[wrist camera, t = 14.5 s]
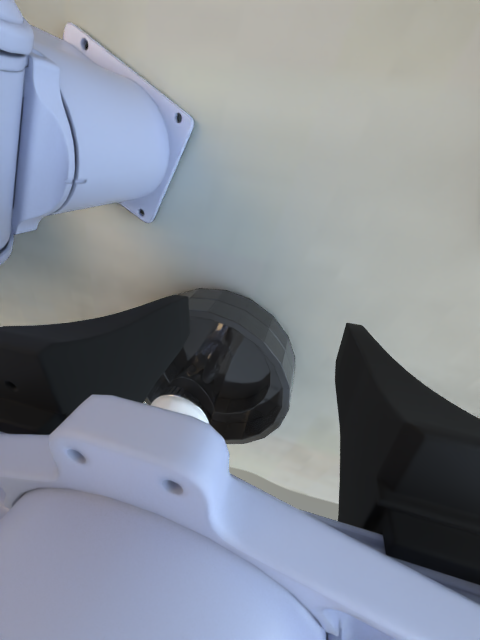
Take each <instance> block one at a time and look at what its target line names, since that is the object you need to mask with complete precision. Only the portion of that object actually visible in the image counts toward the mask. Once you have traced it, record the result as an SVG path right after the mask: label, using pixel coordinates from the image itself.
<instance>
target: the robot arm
mask: <svg viewBox="0 0 480 640" xmlns="http://www.w3.org/2000/svg"><path fill="white" fill-rule="evenodd" d="M86 42H88V49H87V50H86ZM179 114H181V116H182V121H181V122H180V123H179V122H178V120H177V116H178V115H179ZM193 127H194V121H193V118H192V117H191V116H190V115H189V114H188V113H186V112H185V111H184V110H183V109H181V108H180V107H179V106H178V105H176V104H175V103H174V102H173V101H171V100H170V99H169V98H168V97H166V96H165V95H164V94H162V93H161V92H160V91H159V90H157V89H156V88H155V87H154V86H152V85H151V84H150V83H149V82H147V81H146V80H145V79H143V78H142V77H141V76H140V75H138V74H137V73H136V72H135V71H133V70H132V69H131V68H130V67H128V66H127V65H126V64H125V63H123V62H122V61H121V60H119V59H118V58H117V57H116V56H114V55H113V54H112V53H111V52H109V51H108V50H107V49H106V48H104V47H103V46H102V45H100V44H99V43H98V42H97V41H95V40H94V39H93V38H92V37H90V36H89V35H88V34H87V33H85V32H84V31H83V30H81V29H80V28H79V27H78V26H76V25H74V24H73V23H71V22H69V23H67V24H66V25H65V28H64V33H63V40H62V39H60V38H58V37H56V36H54V35H52V34H49V33H47V32H45V31H43V30H41V29H39V28H37V27H34V26H32V25H30V24H29V23H28V22H27V21H26V20H25V18H24V17H23V16H22V14H21V12H20V10H19V8H18V7H17V5H16V3H15V1H14V0H0V265H1V264H3V263H4V262H5V261H6V260H7V259H8V258H9V256H10V254H11V252H12V250H13V241H14V236H13V235H16V234H20V233H25V232H29V231H33V230H36V229H37V226H38V223H39V221H40V220H41V219H42V218H43V217H45V216H48V215H54V214H59V213H64V212H69V211H74V210H80V209H85V208H90V207H95V206H101V205H106V204H111V203H116V202H118V203H119V204H121V205H122V206H123V207H125V208H126V209H128V210H129V211H130V212H132V213H133V214H134V215H136V216H137V217H138V218H140V219H141V220H142V221H144V222H145V223H151V222H153V220H154V219H155V216H156V214H157V212H158V209H159V207H160V205H161V202H162V200H163V198H164V195H165V193H166V191H167V188H168V186H169V184H170V181H171V179H172V177H173V174H174V172H175V170H176V167H177V165H178V163H179V160H180V158H181V156H182V153H183V151H184V149H185V146H186V144H187V142H188V139H189V137H190V135H191V132H192V130H193ZM141 209H142V210H143V212H144V215H142V214H141ZM189 334H190V319H189V300H188V296H182V295H172V296H168V297H165V298H162V299H159V300H156V301H154V302H151V303H148V304H145V305H142V306H139V307H136V308H133V309H130V310H126V311H123V312H120V313H116V314H113V315H109V316H104V317H100V318H95V319H89V320H83V321H77V322H70V323H62V324H51V325H37V326H3V327H0V640H480V419H479V418H477V417H475V416H473V415H471V414H470V413H468V412H466V411H464V410H462V409H461V408H459V407H457V406H456V405H454V404H452V403H451V402H449V401H448V400H446V399H445V398H443V397H441V396H440V395H438V394H437V393H435V392H434V391H432V390H431V389H430V388H428V387H427V386H425V385H424V384H423V383H421V382H420V381H419V380H417V379H416V378H415V377H414V376H412V375H411V374H410V373H409V372H407V371H406V370H405V369H404V368H403V367H402V366H401V365H399V364H398V363H397V362H396V361H395V360H394V359H393V358H392V357H391V356H390V355H389V354H388V353H387V352H386V351H385V350H384V349H383V348H382V347H381V346H380V345H379V343H378V342H377V341H376V340H375V339H374V338H373V337H372V336H371V335H370V333H369V332H368V331H367V330H366V329H365V328H364V327H363V326H362V325H357V324H351V323H346V327H345V330H344V334H343V338H342V341H341V345H340V348H339V352H338V355H337V359H336V369H335V385H336V395H337V404H338V413H339V422H340V489H339V516H338V521H336V520H332V519H329V518H326V517H322V516H319V515H316V514H313V513H310V512H306V511H303V510H300V509H297V508H295V507H293V506H291V505H289V504H287V503H285V502H284V501H282V500H280V499H278V498H276V497H274V496H272V495H270V494H268V493H266V492H264V491H263V490H261V489H259V488H257V487H255V486H253V485H251V484H249V483H247V482H245V481H243V480H242V479H240V478H238V477H236V476H234V475H232V474H230V473H229V452H228V449H227V446H226V443H225V440H224V438H223V437H222V436H221V435H220V434H219V433H218V432H217V431H216V430H215V429H214V428H213V427H212V426H211V425H210V424H208V423H206V422H204V421H201V420H199V419H197V418H195V417H193V416H190V415H186V414H182V413H178V412H174V411H170V410H167V409H163V408H159V407H155V406H151V405H147V404H143V402H144V401H145V399H146V397H147V396H148V394H149V392H150V391H151V389H152V388H153V386H154V385H155V383H156V382H157V381H158V379H159V378H160V377H161V375H162V374H163V373H164V371H165V370H166V369H167V368H168V366H169V365H170V364H171V362H172V361H173V360H174V358H175V357H176V356H177V354H178V353H179V352H180V350H181V349H182V347H183V346H184V344H185V342H186V340H187V338H188V336H189Z"/></svg>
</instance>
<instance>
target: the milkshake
mask: <svg viewBox="0 0 480 640" xmlns="http://www.w3.org/2000/svg"><path fill="white" fill-rule="evenodd" d="M231 360H232V357H231V354H230V352H229V349H228V348H226V347H225V346H223V345H222V344H221V343H218V342H210V341H209V342H207V343H206V344H204V345H202V346H201V347H200V348H199V349H198V350H197V352H196V353H195V354H194V355H193V356H192V358H191V359H190V360H189V361H188V362H187V363H186V365H185V366H184V367H183V368H182V369H181V371H180V372H179V373H178V374H177V375H176V376H175V378H174V379H173V380H172V381H171V382H170V383H169V384H168V385H167V387H166V388H165V389H164V390H163V391H162V392H161V393H160V394H159V395H158V396H157V398H156V399H155V400H154V401H153V402H152V404H151V406H155V407H159V408H163V409H167V410H170V411H174V412H178V413H182V414H186V415H190V416H193V417H195V418H197V419H199V420H201V421H204V422H206V423H208V424H211V421H212V418H213V415H214V412H215V408H216V405H217V401H218V397H219V394H220V391H221V388H222V385H223V383H224V380H225V377H226V374H227V371H228V369H229V366H230V363H231Z"/></svg>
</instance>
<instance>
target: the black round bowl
mask: <svg viewBox="0 0 480 640" xmlns="http://www.w3.org/2000/svg"><path fill="white" fill-rule="evenodd" d="M178 295H182V296H188V300H189V319H190V334H189V336H188V338H187V340H186V342H185V344H184V346H183V347H182V349H181V350H180V352H179V353H178V354H177V356H176V357H175V358H174V360H173V361H172V362H171V364H170V365H169V366H168V368H167V369H166V370H165V371H164V373H163V374H162V375H161V377H160V378H159V379H158V381H157V382H156V383H155V385H154V386H153V388H152V389H151V391H150V392H149V394H148V396H147V397H146V399H145V401H146V403H147V404H148V405H151V404H152V402H153V401H154V400H155V399H156V398H157V396H158V395H159V394H160V393H161V392H162V391H163V390H164V389H165V388H166V387H167V385H168V384H169V383H170V382H171V381H172V380H173V379H174V378H175V376H176V375H177V374H178V373H179V372H180V371H181V369H182V368H183V367H184V366H185V365H186V363H187V362H188V361H189V360H190V359H191V358H192V356H193V355H194V354H195V353H196V352H197V350H198V349H199V348H200V347H201V346H202V345H204V344H206V343H207V342H209V341H210V342H218V343H221V344H222V345H223V346H225V347H226V348H228V349H229V352H230V354H231V357H232V360H231V363H230V366H229V369H228V371H227V374H226V377H225V380H224V383H223V385H222V388H221V391H220V394H219V397H218V401H217V405H216V408H215V412H214V415H213V418H212V421H211V424H210V425H211V426H212V427H213V428H214V429H215V430H216V431H217V432H218V433H219V434H220V435H221V436H222V437H223V438H224V440H225V443H226V444H244V443H248V442H252V441H255V440H259V439H262V438H265V437H266V436H267V435H269V434H270V433H271V432H273V431H274V430H276V429H277V428H278V427H279V426H280V425H281V423H282V421H283V419H284V418H285V416H286V414H287V412H288V410H289V406H290V400H291V393H292V386H293V380H294V368H295V356H294V352H293V349H292V346H291V343H290V340H289V337H288V335H287V334H286V333H285V331H284V330H283V329H282V327H281V326H280V325H279V323H278V322H277V321H276V319H275V318H274V317H273V316H272V315H271V314H270V313H268V312H267V311H266V310H264V309H263V308H262V307H260V306H259V305H258V304H256V303H255V302H254V301H252V300H251V299H249V298H246V297H243V296H241V295H238V294H235V293H233V292H230V291H227V290H218V289H203V288H199V289H195V290H191V291H188V292H184V293H180V294H178Z"/></svg>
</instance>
